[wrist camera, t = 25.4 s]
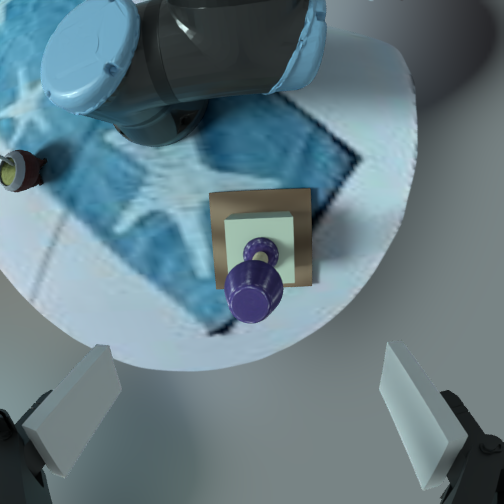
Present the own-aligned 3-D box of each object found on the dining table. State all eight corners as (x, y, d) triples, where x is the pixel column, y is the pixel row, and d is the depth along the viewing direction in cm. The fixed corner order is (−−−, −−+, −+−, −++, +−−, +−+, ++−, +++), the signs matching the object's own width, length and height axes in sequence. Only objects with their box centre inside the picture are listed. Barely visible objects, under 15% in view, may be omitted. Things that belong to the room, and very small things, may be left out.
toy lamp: (232, 258, 38) (205, 317, 22) (251, 225, 37) (237, 261, 21) (267, 277, 38) (265, 348, 22) (287, 245, 37) (300, 296, 21)
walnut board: (210, 192, 44) (209, 193, 43) (309, 188, 43) (310, 188, 42) (217, 286, 47) (216, 289, 46) (311, 283, 46) (312, 286, 45)
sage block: (231, 213, 44) (224, 220, 37) (289, 211, 43) (293, 217, 36) (235, 269, 45) (229, 285, 39) (291, 267, 45) (294, 282, 38)
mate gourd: (32, 197, 46) (-27, 207, 31) (18, 162, 44) (-40, 164, 30) (56, 173, 45) (-5, 176, 30) (42, 137, 43) (-18, 132, 29)
